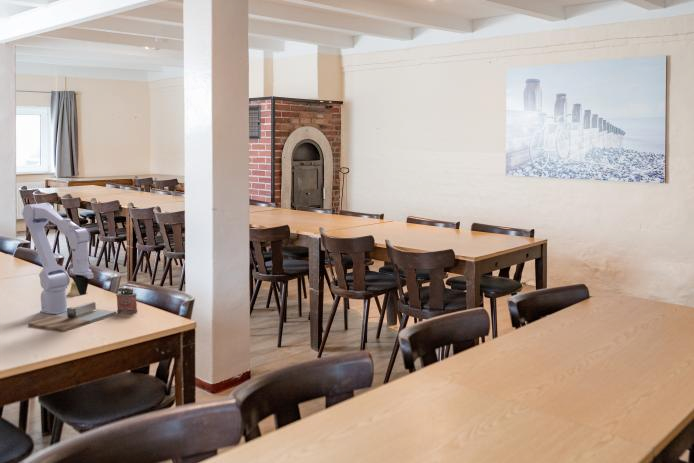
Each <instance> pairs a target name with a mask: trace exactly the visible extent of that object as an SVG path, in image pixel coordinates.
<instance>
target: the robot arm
mask: <svg viewBox="0 0 694 463" xmlns="http://www.w3.org/2000/svg"><path fill="white" fill-rule="evenodd" d="M54 209H55V208H54V206H53V205H52V204H51V203H49V202H42V203H41V202H40V203H33V204H30V203H29V204H25V205H24V207H23V210H22V213H21V215H22V218H23V220H24V222H25V226H26V227H27V228H28V231H29V234H30V236H31V239H32V241H33V242H32V243H33V244H34V248H35V249H36V253H37V255H38V258H39V261H40V263H41V266H42V267H43V268H42V270H41V271H40V273H39V274H38V276H39V280H40V287H41V288H42V291H41V293H40V306H41V310H39V313H46V314H51V315H52V314H53V315H58V314H61V313H64V312H67V308H68V304H67V301H68V300H67V291H66V290H67V289H68V286H69V285H70V284H71V280H73V281H74V282H75V284H76V286H77V289H78V292H79V295H81V296H85V295H87V294H86V291H87V292H88V286H89V283H90V281H91V279H94V277H95V276H94V272H92V271H93V270H92V269H90V262H89V248H88V247H89V246H88V244H89V242H90V241H91V233H90V230H89V229H88V228H87V227H80V226H79V225H78V224H76V223H74V222H73V221H72V219H71V218H63V216H61V215H60V214H59V213H58V212H56V211H55V210H54ZM49 222H51V223H52V224H53V225H56V226H57V230H58V232H60V233H61V234H62V235H64V236H66V238H67V241H68V242H69V247H70V249H71V256H72V257H71V258H72V263H73V268H69V272H67V271H66V268H65V267H64V266H62V265H60V264H58V263H57V260H56V256H55V254H54V252H53V249H52V246H51V244H50V241H49V239H48V236H47V233H46V231H45V226H46V225H48V224H49ZM74 274H75V275H76V276H75V277H74V276H72V277H70V275H74ZM71 278H72V279H71ZM84 294H85V295H84Z"/></svg>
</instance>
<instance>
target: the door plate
mask: <svg viewBox="0 0 694 463" xmlns="http://www.w3.org/2000/svg"><path fill="white" fill-rule="evenodd" d="M114 315H117V311H113V310H106V309H99V308H96V310H93V311H90V312H87V313H83V314H80V315H77V316H75V317H73V318H74V319H81V320H89V323H88V324H90V323H94V322H97V321H99V320H102V319H106V318H109V317H112V316H114ZM54 316H60V317H67V311H66V312H63V313H60V314H54ZM67 318H68V317H67Z"/></svg>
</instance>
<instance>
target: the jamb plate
mask: <svg viewBox="0 0 694 463" xmlns="http://www.w3.org/2000/svg"><path fill="white" fill-rule="evenodd" d="M89 324H90V323H89V320H81V319H74V318H67V317H60V316H55V315H51V316H49V317H45V318H42V319H38V320H36V321H33V322H29V323H28V324H27V326H28V327H29V328H30V327H31V328H36V329H37V328H38V329H45V330H50V331H57V332H64V333H65V332H68V331H70V330H73V329H76V328H80V327H83V326H85V325H89Z"/></svg>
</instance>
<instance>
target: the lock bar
mask: <svg viewBox="0 0 694 463" xmlns="http://www.w3.org/2000/svg"><path fill="white" fill-rule="evenodd" d="M96 306H97V304H96V302H95V301H91V302H87V303H84V304H80V305H77V306H71V307H67V311H66V312H67V317H68V318H73V317H75V316H77V315H80V314H83V313H87V312H90V311H93V310H96V309H97V307H96Z"/></svg>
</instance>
